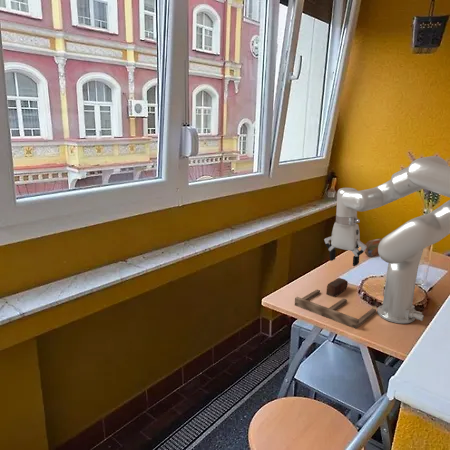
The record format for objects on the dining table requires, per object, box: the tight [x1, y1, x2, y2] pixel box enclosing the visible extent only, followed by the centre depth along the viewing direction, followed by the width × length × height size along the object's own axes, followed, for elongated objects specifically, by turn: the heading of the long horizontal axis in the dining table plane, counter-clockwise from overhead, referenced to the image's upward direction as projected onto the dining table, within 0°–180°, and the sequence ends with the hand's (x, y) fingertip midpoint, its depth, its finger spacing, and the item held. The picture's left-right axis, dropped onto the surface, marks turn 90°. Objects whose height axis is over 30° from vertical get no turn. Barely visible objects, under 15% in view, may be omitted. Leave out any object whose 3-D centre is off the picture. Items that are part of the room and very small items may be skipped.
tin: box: [364, 238, 383, 258], centre depth 204 cm, size 15×3×8 cm, turn 119°
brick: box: [325, 277, 349, 298], centre depth 162 cm, size 11×4×5 cm, turn 138°
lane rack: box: [294, 289, 377, 330], centre depth 148 cm, size 24×16×3 cm, turn 47°
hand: (343, 262), depth 158 cm, fingers open, 9 cm apart
